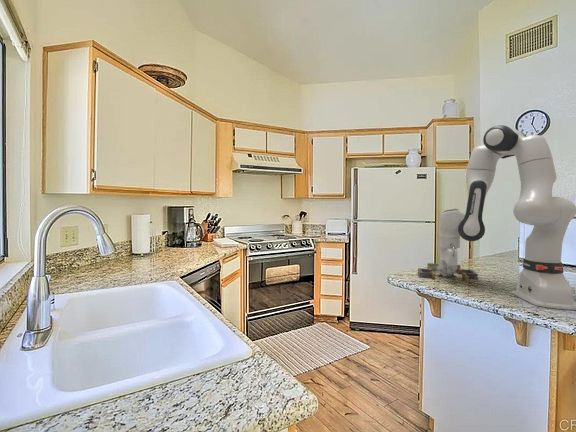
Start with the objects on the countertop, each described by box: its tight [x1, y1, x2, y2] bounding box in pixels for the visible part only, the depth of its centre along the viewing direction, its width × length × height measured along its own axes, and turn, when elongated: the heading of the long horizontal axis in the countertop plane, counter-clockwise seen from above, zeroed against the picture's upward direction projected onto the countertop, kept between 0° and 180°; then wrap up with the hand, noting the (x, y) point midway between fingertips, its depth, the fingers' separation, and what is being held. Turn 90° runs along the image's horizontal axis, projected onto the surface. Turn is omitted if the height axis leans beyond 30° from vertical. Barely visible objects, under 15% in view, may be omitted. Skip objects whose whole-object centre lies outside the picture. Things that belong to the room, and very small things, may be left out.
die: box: [437, 259, 458, 278], centre depth 156 cm, size 8×9×10 cm
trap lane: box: [417, 262, 479, 283], centre depth 156 cm, size 19×26×4 cm
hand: (448, 272), depth 151 cm, fingers closed
